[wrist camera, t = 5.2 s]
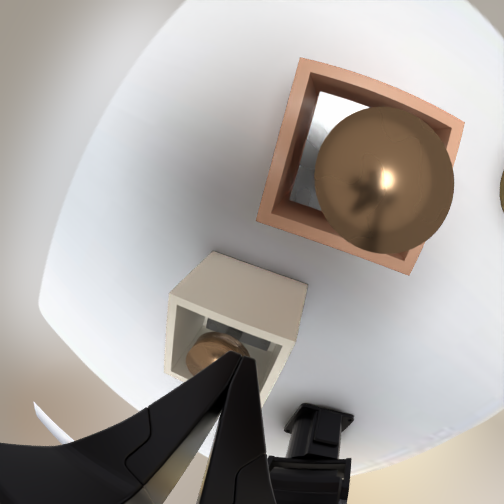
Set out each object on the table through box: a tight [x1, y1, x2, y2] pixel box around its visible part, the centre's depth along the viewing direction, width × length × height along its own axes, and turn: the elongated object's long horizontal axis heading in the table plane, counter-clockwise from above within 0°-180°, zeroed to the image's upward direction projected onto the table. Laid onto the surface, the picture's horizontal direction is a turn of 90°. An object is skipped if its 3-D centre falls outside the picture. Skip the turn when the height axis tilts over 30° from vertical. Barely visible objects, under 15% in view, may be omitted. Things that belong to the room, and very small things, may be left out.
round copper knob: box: [186, 318, 271, 376], centre depth 20 cm, size 6×6×7 cm
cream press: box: [164, 251, 308, 408], centre depth 21 cm, size 8×8×7 cm
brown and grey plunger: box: [289, 91, 454, 254], centre depth 10 cm, size 6×6×7 cm
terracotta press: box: [256, 57, 465, 276], centre depth 14 cm, size 8×8×7 cm
